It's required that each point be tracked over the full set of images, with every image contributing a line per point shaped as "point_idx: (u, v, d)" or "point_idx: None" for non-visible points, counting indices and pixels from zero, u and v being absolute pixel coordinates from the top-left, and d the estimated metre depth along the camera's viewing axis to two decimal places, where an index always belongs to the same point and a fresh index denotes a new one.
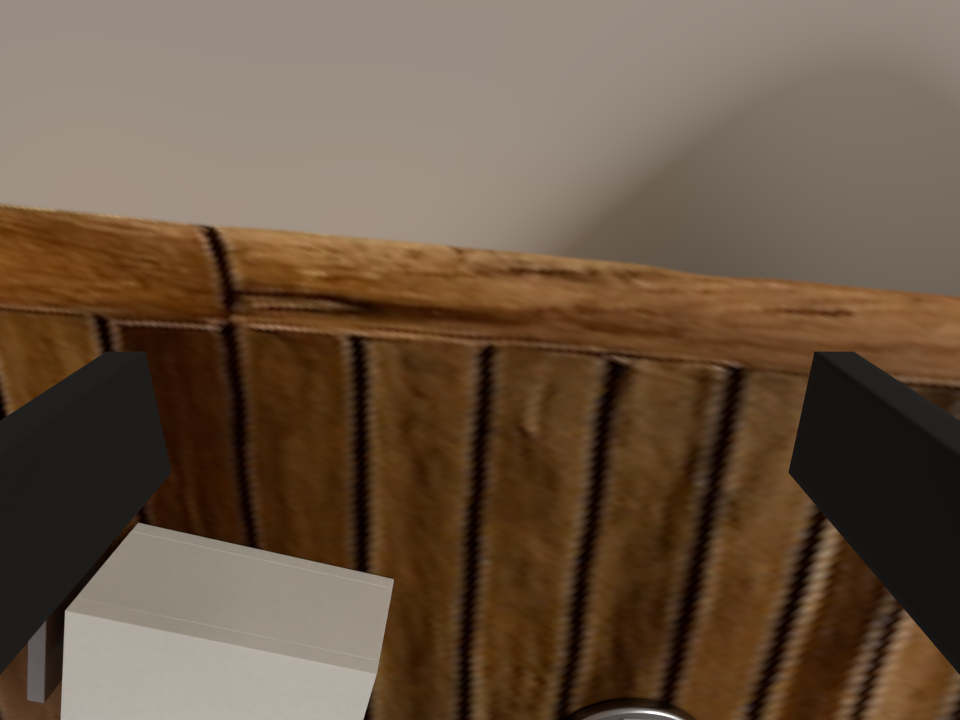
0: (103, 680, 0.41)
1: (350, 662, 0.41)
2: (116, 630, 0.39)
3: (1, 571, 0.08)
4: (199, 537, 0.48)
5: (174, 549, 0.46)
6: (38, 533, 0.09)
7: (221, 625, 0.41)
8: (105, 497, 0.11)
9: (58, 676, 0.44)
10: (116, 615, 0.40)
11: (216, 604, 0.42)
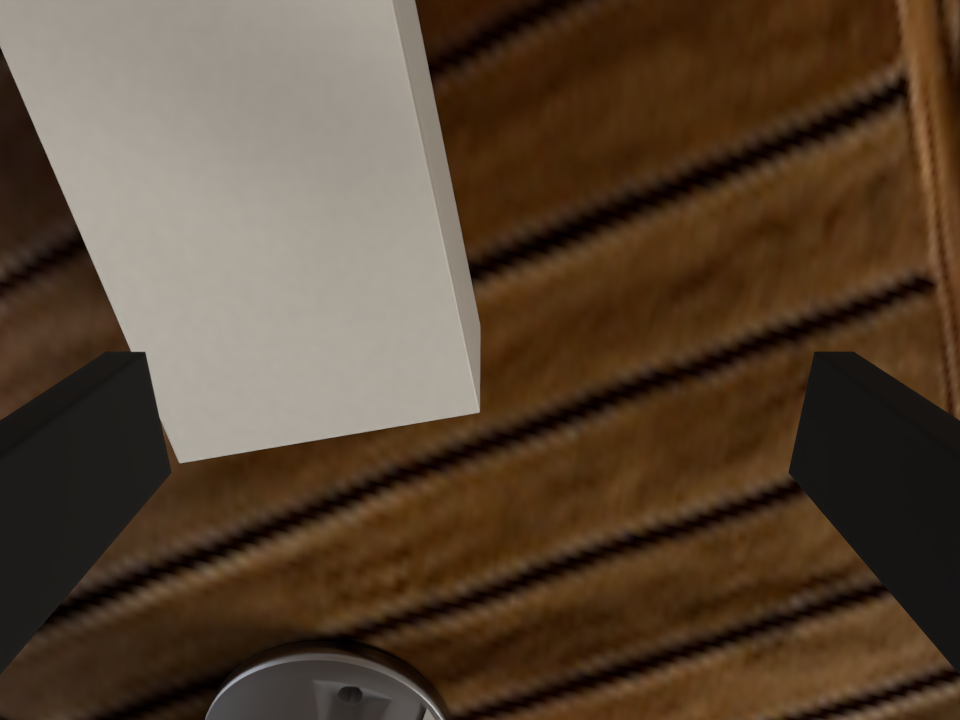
0: None
1: (469, 357, 0.21)
2: None
3: (1, 571, 0.08)
4: None
5: None
6: (38, 532, 0.09)
7: (412, 76, 0.18)
8: (105, 497, 0.11)
9: None
10: None
11: (411, 47, 0.20)
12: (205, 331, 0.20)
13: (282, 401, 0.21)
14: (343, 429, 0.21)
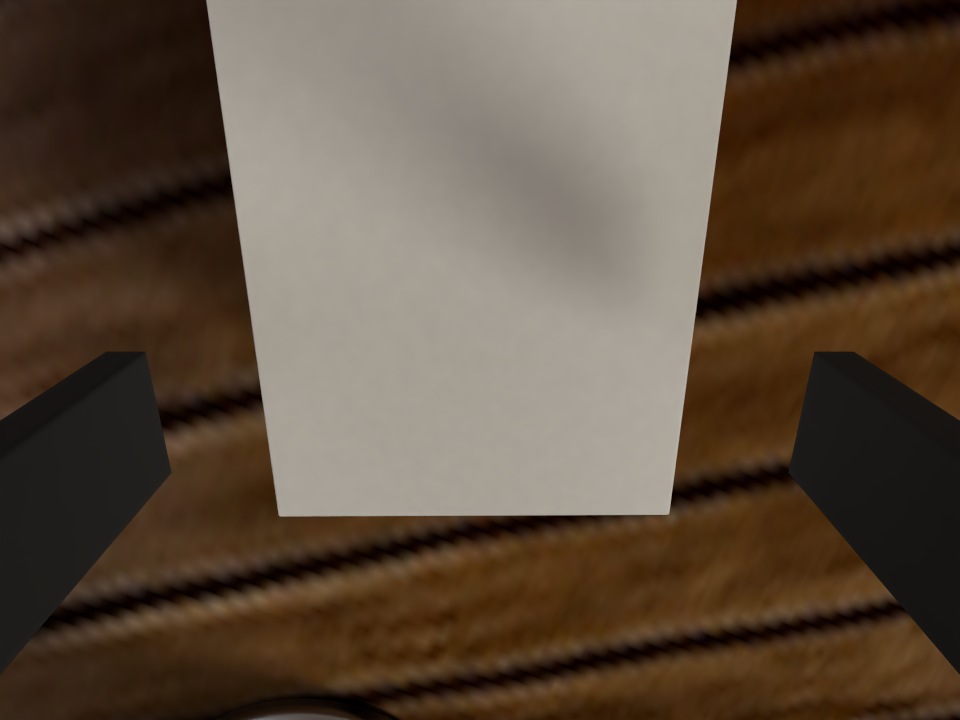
0: None
1: None
2: None
3: (1, 571, 0.08)
4: None
5: None
6: (38, 532, 0.09)
7: None
8: (105, 497, 0.11)
9: None
10: None
11: None
12: (363, 364, 0.15)
13: (434, 463, 0.17)
14: (498, 507, 0.17)
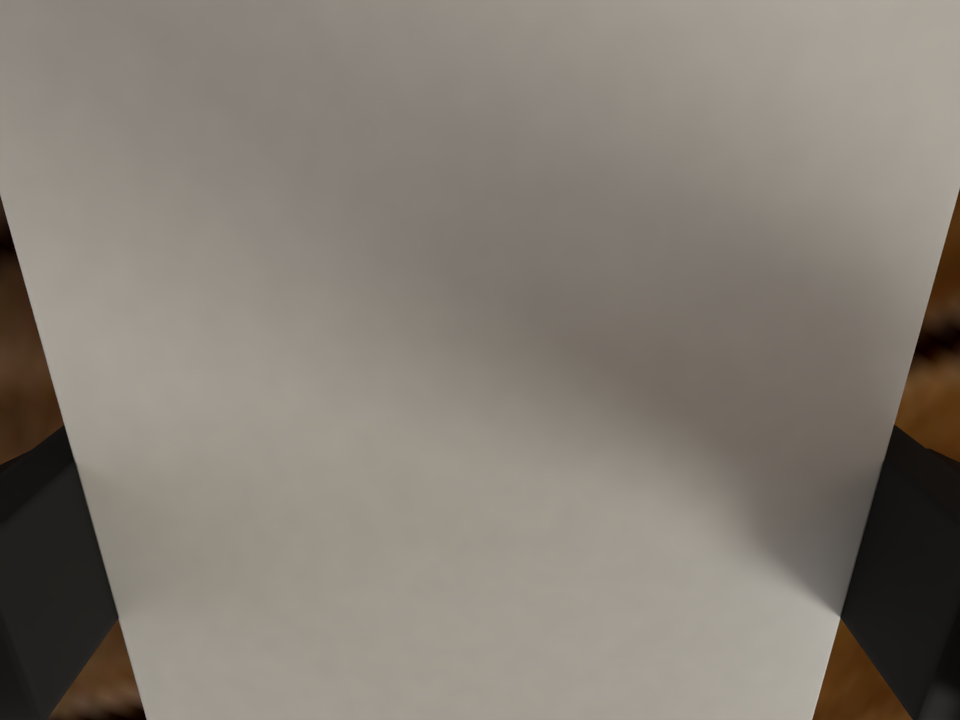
0: None
1: None
2: None
3: None
4: None
5: None
6: None
7: None
8: None
9: None
10: None
11: None
12: (284, 544, 0.09)
13: (412, 692, 0.10)
14: None
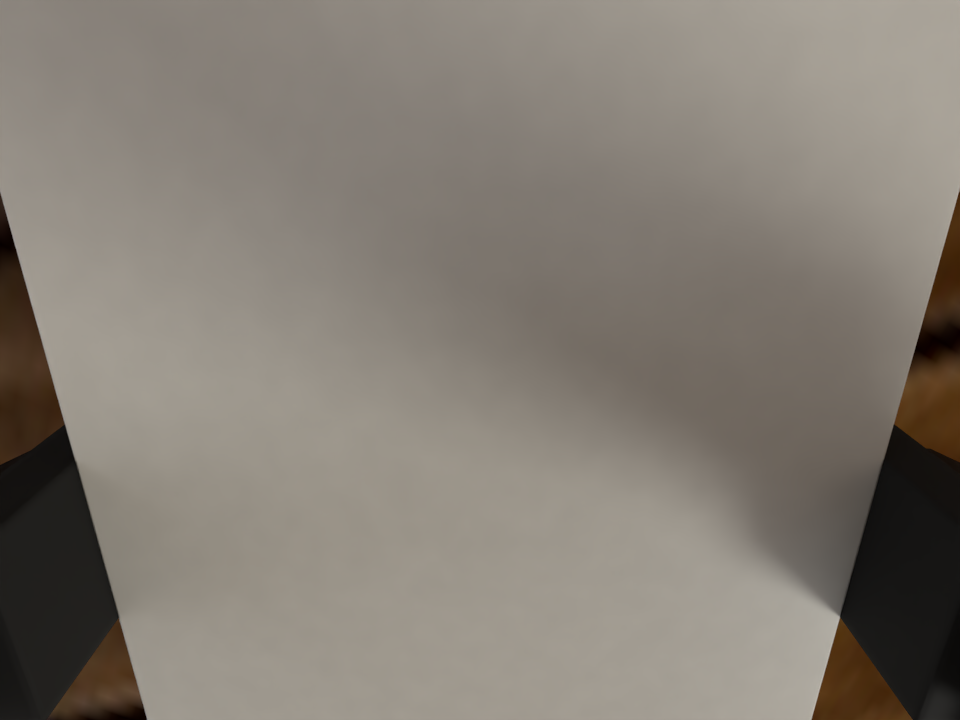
0: None
1: None
2: None
3: None
4: None
5: None
6: None
7: None
8: None
9: None
10: None
11: None
12: (284, 544, 0.09)
13: (412, 692, 0.10)
14: None
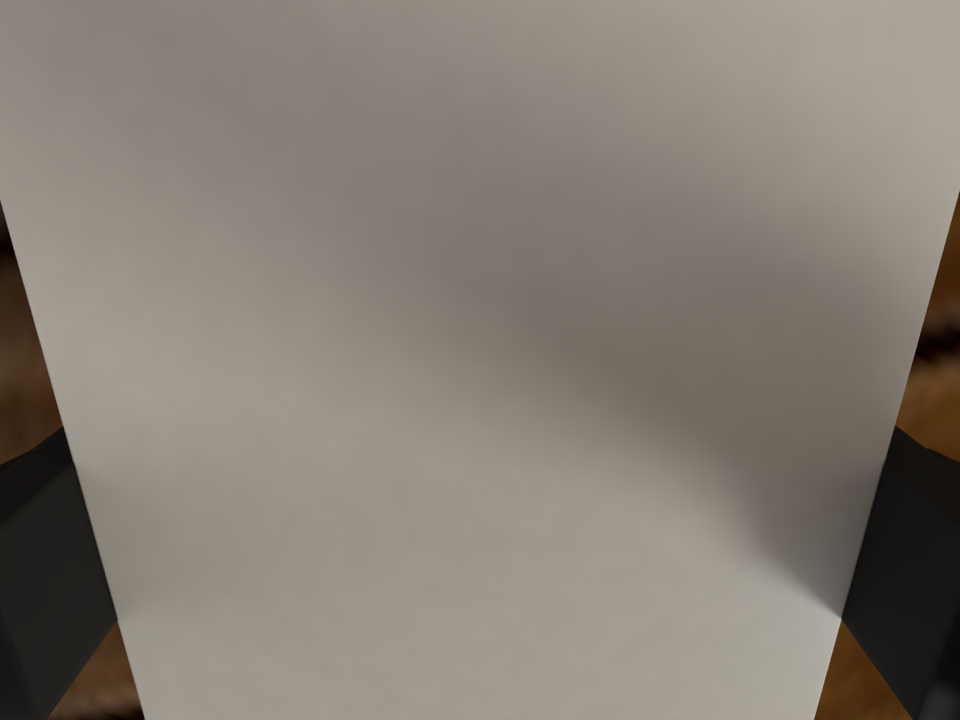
0: None
1: None
2: None
3: None
4: None
5: None
6: None
7: None
8: None
9: None
10: None
11: None
12: (284, 545, 0.09)
13: (412, 694, 0.10)
14: None
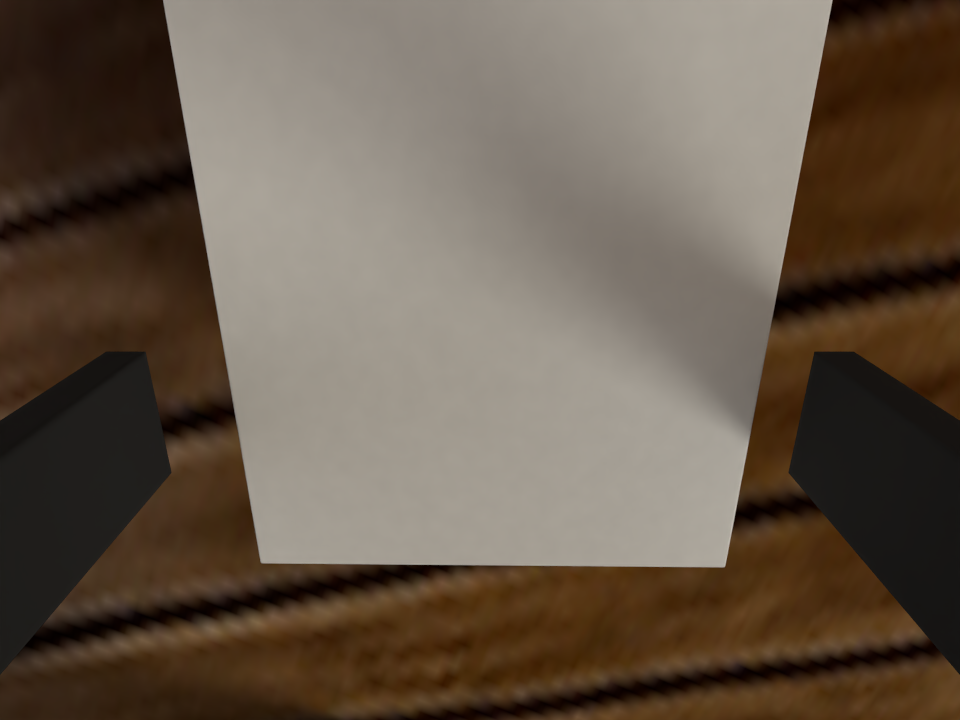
0: None
1: None
2: None
3: (1, 571, 0.08)
4: None
5: None
6: (38, 532, 0.09)
7: None
8: (105, 497, 0.11)
9: None
10: None
11: None
12: (358, 389, 0.13)
13: (444, 506, 0.14)
14: (520, 557, 0.14)
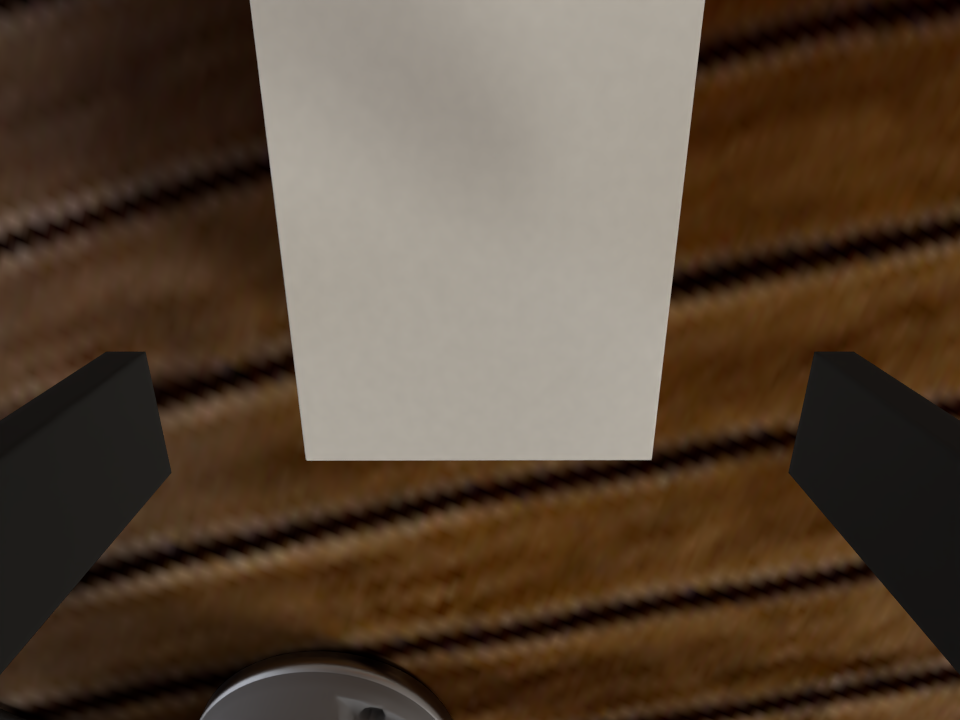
0: None
1: None
2: None
3: (1, 571, 0.08)
4: None
5: None
6: (39, 532, 0.09)
7: None
8: (105, 497, 0.11)
9: None
10: None
11: None
12: (381, 323, 0.18)
13: (443, 413, 0.19)
14: (500, 453, 0.19)
